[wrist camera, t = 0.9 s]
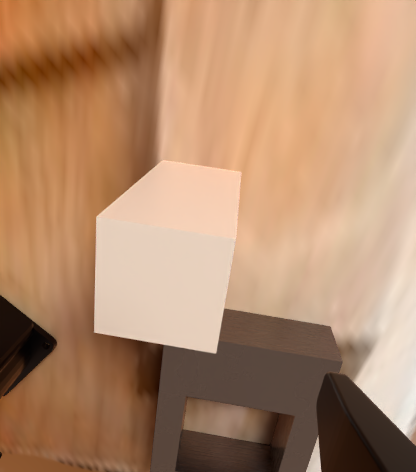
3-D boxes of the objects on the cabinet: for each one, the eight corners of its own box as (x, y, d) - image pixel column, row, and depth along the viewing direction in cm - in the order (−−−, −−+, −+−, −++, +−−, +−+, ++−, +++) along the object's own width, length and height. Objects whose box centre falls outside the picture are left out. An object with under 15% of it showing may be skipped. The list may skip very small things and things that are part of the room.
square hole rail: (280, 489, 27) (284, 535, 24) (156, 465, 27) (146, 509, 24) (330, 326, 22) (342, 362, 19) (175, 300, 22) (165, 331, 19)
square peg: (229, 244, 20) (216, 353, 12) (156, 232, 21) (94, 332, 12) (241, 171, 19) (235, 239, 11) (163, 159, 19) (96, 216, 11)
